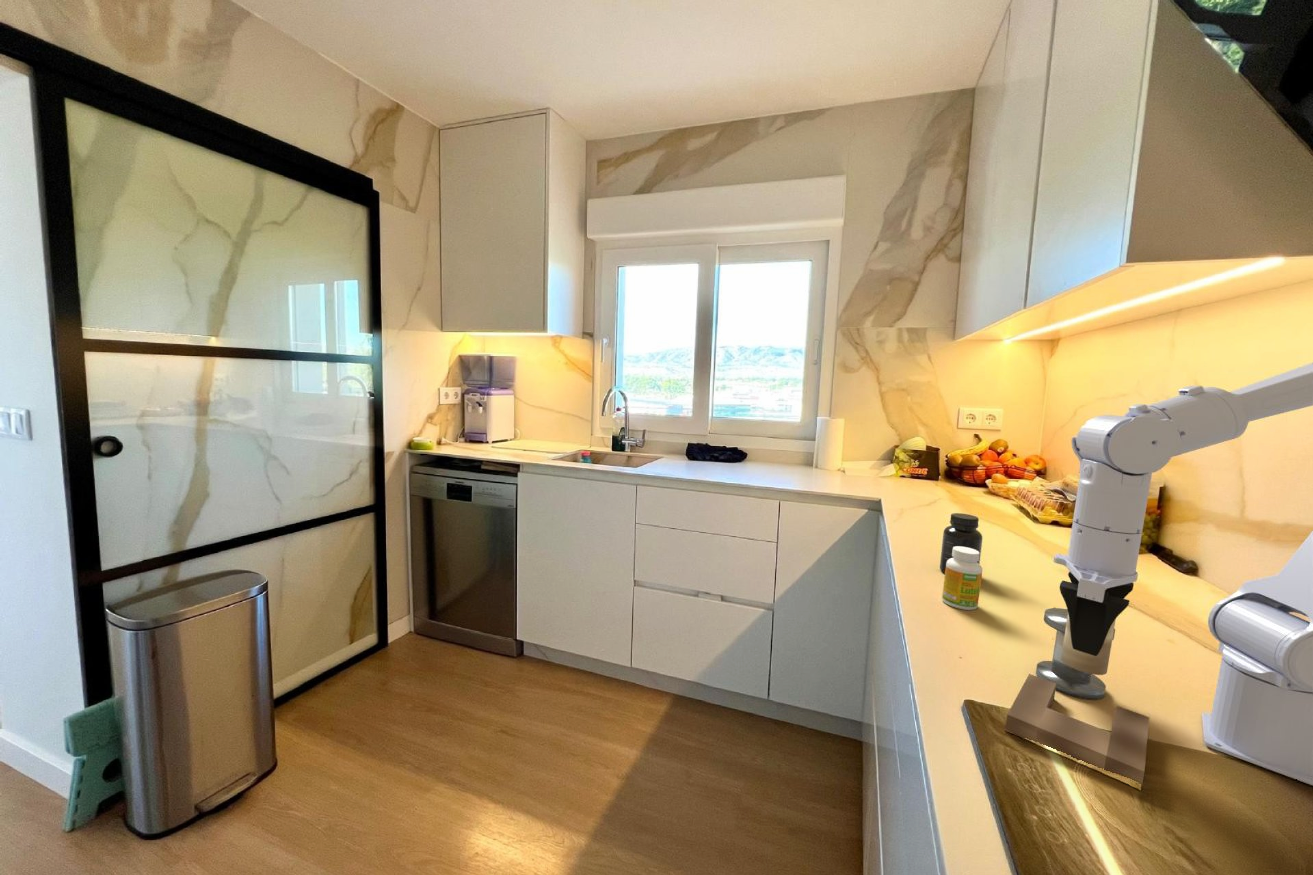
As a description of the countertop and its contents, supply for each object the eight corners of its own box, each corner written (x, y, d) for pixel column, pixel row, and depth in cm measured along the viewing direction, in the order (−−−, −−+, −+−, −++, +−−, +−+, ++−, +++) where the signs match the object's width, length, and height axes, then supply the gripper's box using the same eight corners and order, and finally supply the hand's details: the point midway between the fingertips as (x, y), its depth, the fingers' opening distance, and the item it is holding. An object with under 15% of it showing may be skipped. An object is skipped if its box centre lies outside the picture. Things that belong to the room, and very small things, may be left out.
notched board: (1146, 733, 58) (1149, 717, 58) (1141, 790, 49) (1144, 771, 49) (1027, 688, 65) (1029, 673, 65) (1004, 731, 57) (1007, 714, 57)
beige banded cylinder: (1108, 666, 58) (1120, 597, 57) (1104, 679, 56) (1116, 607, 55) (1064, 651, 61) (1074, 586, 60) (1058, 663, 58) (1068, 595, 57)
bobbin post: (1107, 684, 67) (1117, 622, 66) (1101, 707, 62) (1112, 640, 61) (1040, 661, 72) (1049, 603, 71) (1031, 680, 67) (1040, 618, 66)
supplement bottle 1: (945, 565, 110) (952, 509, 109) (982, 575, 105) (990, 517, 104) (933, 572, 105) (940, 514, 104) (971, 583, 101) (979, 522, 99)
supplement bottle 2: (959, 611, 87) (966, 556, 86) (934, 598, 92) (940, 545, 91) (985, 609, 89) (992, 554, 87) (959, 596, 94) (965, 544, 93)
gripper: (1070, 508, 64) (1054, 613, 66) (1049, 528, 54) (1031, 651, 56) (1147, 521, 59) (1129, 634, 61) (1140, 546, 49) (1118, 681, 51)
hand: (1087, 644), depth 58 cm, fingers closed on beige banded cylinder, 4 cm apart
